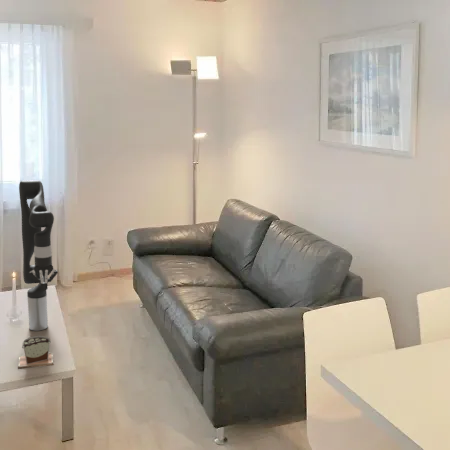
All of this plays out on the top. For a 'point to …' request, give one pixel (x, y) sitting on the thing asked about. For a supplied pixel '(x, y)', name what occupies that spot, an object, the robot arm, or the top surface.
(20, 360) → the picture board
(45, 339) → the food container
